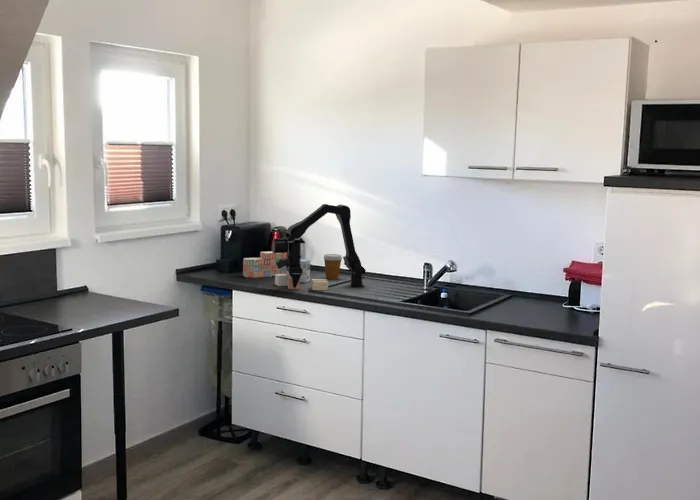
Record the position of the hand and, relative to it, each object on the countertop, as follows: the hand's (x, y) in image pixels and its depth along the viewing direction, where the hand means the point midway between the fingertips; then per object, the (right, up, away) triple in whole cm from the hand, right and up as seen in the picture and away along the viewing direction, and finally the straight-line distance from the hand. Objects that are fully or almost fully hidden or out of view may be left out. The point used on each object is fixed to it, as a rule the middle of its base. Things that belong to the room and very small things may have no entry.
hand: (293, 285), depth 360 cm
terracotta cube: (0, -1, 0) cm, 1 cm away
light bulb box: (+1, +1, +19) cm, 19 cm away
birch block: (+12, -1, 0) cm, 12 cm away
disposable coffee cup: (+17, +2, +29) cm, 34 cm away
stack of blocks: (-17, +3, +31) cm, 36 cm away
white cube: (-6, 0, +7) cm, 10 cm away
